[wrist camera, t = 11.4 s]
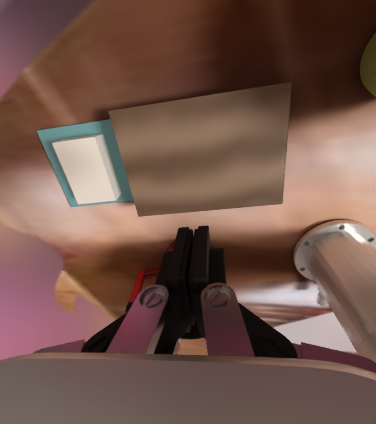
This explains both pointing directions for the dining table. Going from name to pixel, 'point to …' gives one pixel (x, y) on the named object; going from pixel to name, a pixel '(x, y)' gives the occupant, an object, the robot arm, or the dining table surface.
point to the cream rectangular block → (88, 168)
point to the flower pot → (369, 66)
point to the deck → (206, 150)
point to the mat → (80, 131)
